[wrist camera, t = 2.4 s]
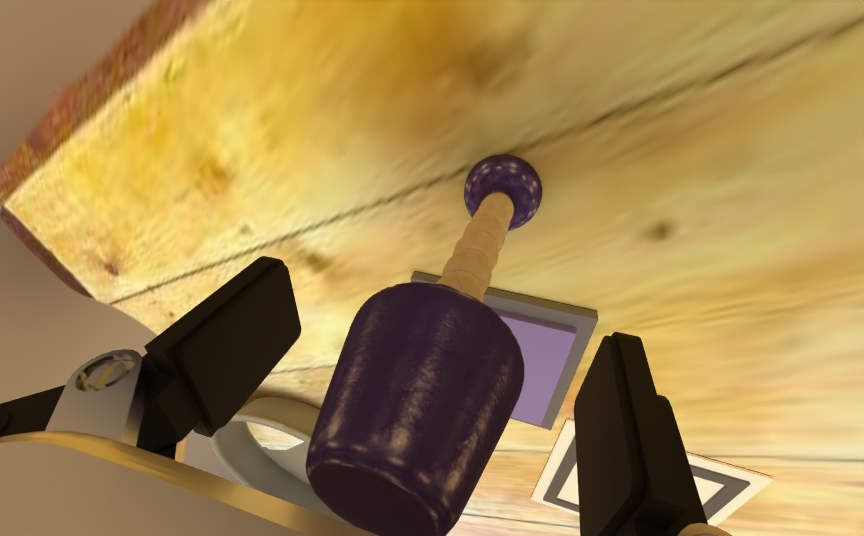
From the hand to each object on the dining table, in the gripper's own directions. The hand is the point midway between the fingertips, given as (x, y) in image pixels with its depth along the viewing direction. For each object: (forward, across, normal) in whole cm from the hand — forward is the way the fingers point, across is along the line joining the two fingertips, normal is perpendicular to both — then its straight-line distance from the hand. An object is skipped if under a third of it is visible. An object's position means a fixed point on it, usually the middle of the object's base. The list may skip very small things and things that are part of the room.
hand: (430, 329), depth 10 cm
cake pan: (+13, +17, +39) cm, 44 cm away
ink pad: (+12, -2, +13) cm, 18 cm away
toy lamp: (+12, -1, 0) cm, 12 cm away
